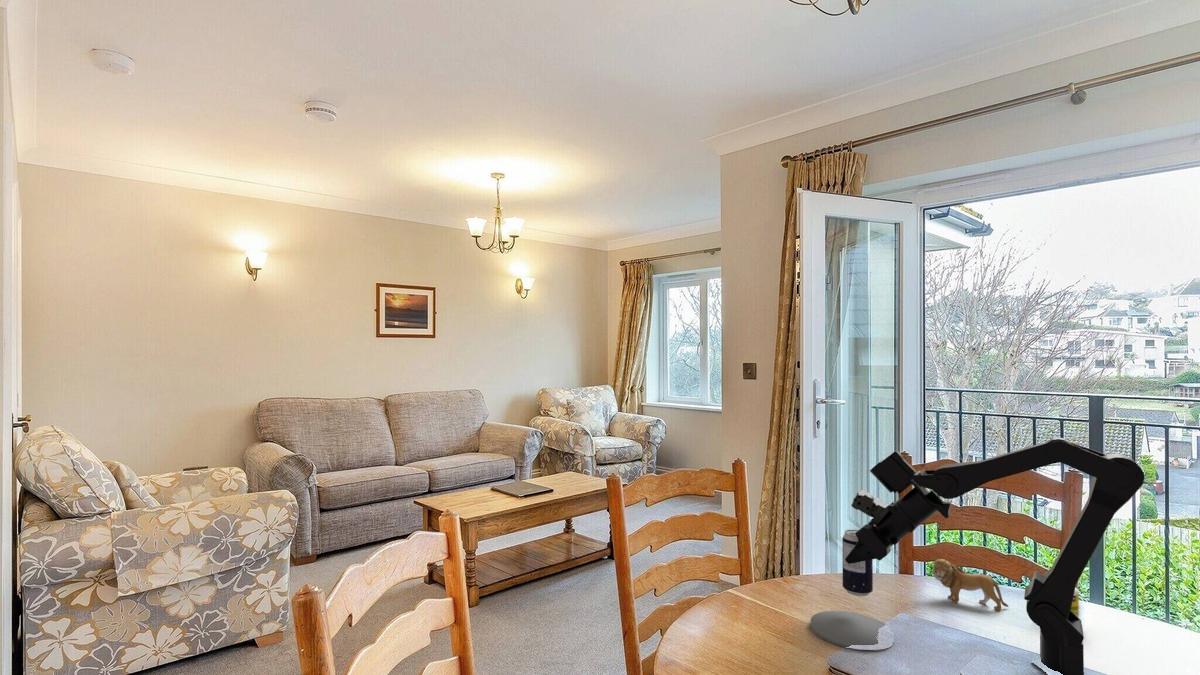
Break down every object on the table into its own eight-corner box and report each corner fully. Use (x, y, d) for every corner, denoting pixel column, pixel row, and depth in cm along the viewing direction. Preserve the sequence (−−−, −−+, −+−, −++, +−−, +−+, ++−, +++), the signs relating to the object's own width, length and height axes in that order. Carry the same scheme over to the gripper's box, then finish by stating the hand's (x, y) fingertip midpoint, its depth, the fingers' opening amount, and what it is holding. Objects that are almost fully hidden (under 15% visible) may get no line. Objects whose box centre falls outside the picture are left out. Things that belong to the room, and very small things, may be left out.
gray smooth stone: (907, 654, 109) (907, 647, 110) (821, 647, 111) (821, 641, 111) (878, 619, 124) (878, 613, 124) (803, 614, 126) (803, 608, 126)
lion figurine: (934, 602, 135) (934, 561, 135) (930, 594, 140) (930, 554, 140) (1011, 613, 130) (1011, 570, 130) (1004, 604, 135) (1004, 563, 135)
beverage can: (878, 597, 121) (877, 536, 122) (850, 597, 121) (850, 536, 122) (864, 587, 127) (864, 529, 127) (837, 587, 127) (837, 529, 127)
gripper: (887, 473, 130) (834, 517, 136) (866, 486, 115) (808, 534, 121) (929, 516, 125) (872, 559, 131) (913, 535, 110) (849, 583, 116)
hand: (850, 558), depth 125 cm, fingers closed on beverage can, 6 cm apart
